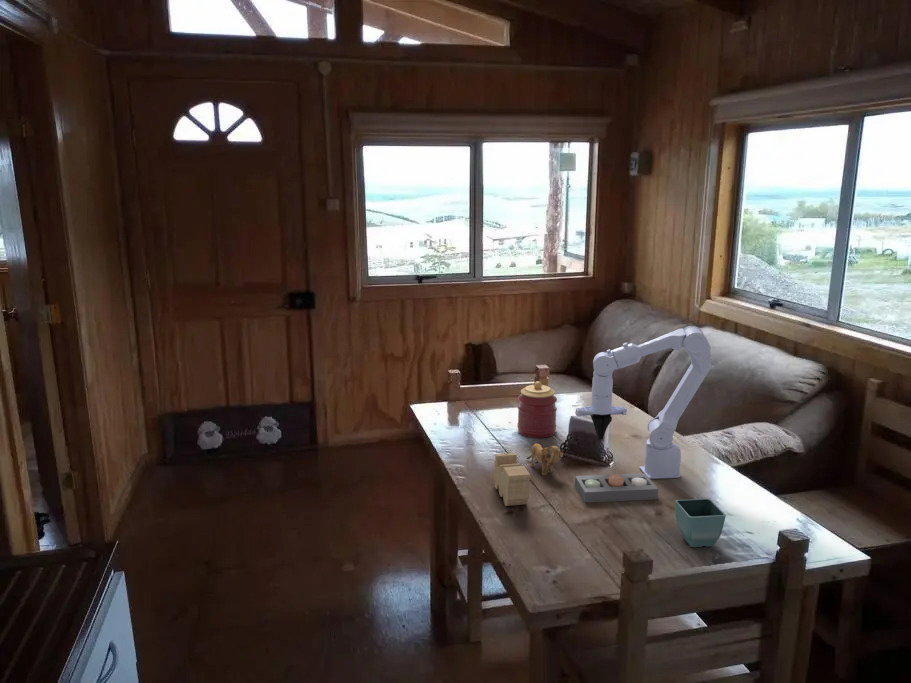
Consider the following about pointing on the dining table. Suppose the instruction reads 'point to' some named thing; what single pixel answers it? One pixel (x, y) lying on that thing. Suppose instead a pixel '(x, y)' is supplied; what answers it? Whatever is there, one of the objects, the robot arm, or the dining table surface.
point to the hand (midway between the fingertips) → (599, 438)
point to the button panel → (616, 489)
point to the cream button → (638, 481)
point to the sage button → (592, 483)
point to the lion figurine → (545, 456)
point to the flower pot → (699, 521)
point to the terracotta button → (615, 480)
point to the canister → (537, 411)
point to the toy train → (511, 479)
